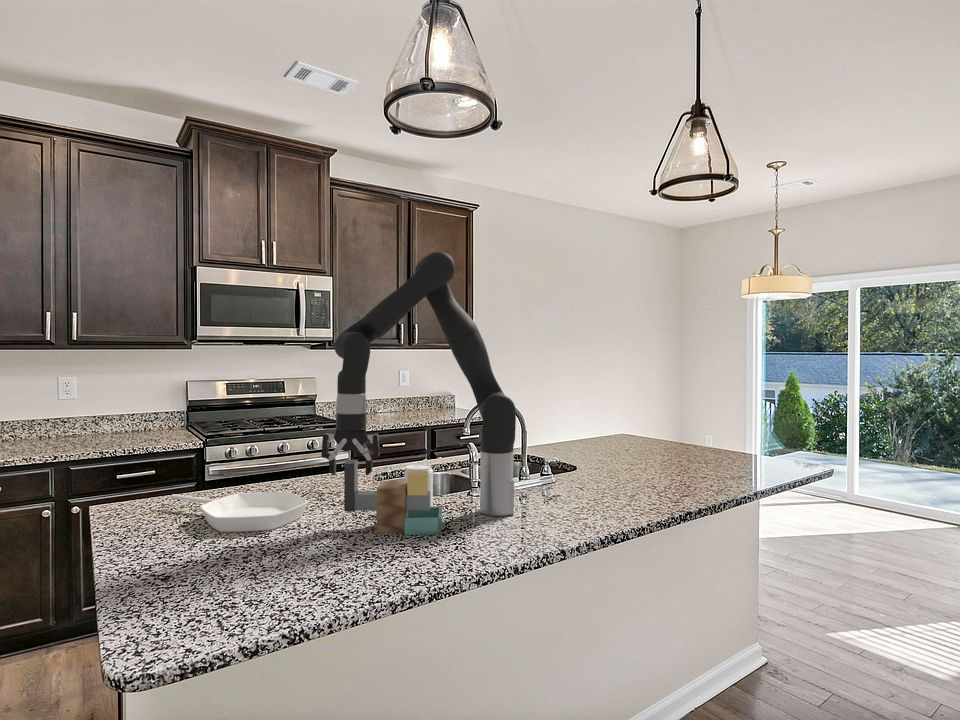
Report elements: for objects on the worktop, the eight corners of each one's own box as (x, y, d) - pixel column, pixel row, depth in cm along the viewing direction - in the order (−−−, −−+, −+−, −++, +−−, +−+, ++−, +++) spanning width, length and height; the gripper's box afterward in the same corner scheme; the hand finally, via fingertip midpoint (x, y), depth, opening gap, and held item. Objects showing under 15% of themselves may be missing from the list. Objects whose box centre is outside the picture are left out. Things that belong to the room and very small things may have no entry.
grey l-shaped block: (430, 505, 155) (430, 459, 155) (429, 511, 150) (429, 463, 150) (347, 505, 154) (347, 459, 154) (344, 511, 149) (344, 463, 149)
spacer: (428, 490, 155) (428, 471, 155) (427, 495, 150) (427, 475, 150) (409, 490, 155) (409, 471, 155) (407, 495, 150) (407, 475, 150)
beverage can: (428, 513, 166) (428, 470, 166) (400, 511, 168) (400, 468, 167) (436, 505, 174) (436, 464, 174) (409, 503, 176) (409, 463, 175)
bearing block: (407, 523, 157) (407, 481, 156) (405, 532, 149) (405, 488, 148) (380, 523, 156) (380, 481, 156) (376, 532, 148) (376, 488, 148)
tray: (442, 521, 159) (442, 506, 158) (441, 534, 148) (441, 518, 147) (408, 521, 158) (408, 506, 158) (404, 534, 147) (404, 518, 147)
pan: (256, 541, 142) (256, 523, 142) (128, 522, 156) (128, 505, 156) (324, 511, 168) (324, 495, 167) (210, 497, 182) (209, 482, 182)
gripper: (381, 409, 155) (380, 471, 156) (326, 409, 155) (325, 471, 155) (377, 413, 148) (376, 478, 148) (319, 412, 147) (318, 477, 148)
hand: (350, 474), depth 152 cm, fingers open, 8 cm apart
